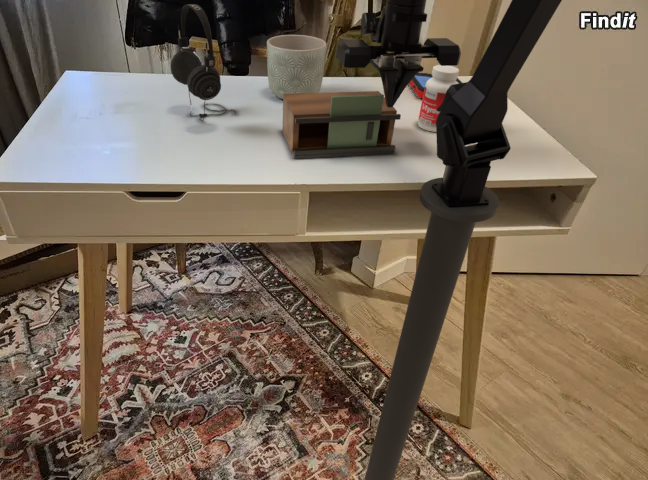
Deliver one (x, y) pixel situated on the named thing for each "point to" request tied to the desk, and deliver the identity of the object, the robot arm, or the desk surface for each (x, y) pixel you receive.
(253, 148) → the desk surface
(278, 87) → the planter
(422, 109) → the pill bottle
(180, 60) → the headphones
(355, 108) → the sliding door
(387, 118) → the cabinet
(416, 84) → the game console
